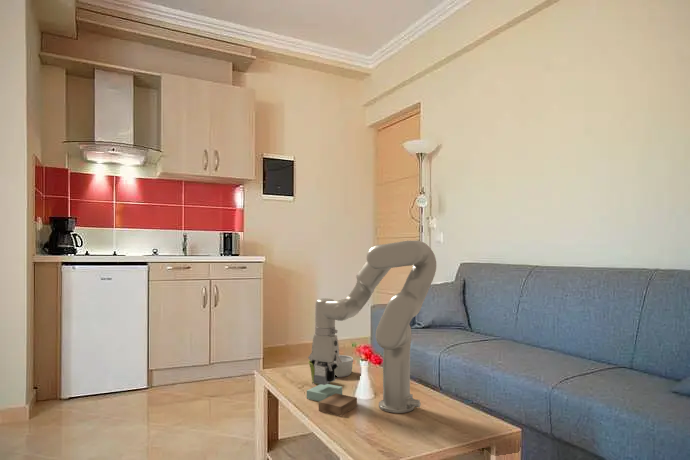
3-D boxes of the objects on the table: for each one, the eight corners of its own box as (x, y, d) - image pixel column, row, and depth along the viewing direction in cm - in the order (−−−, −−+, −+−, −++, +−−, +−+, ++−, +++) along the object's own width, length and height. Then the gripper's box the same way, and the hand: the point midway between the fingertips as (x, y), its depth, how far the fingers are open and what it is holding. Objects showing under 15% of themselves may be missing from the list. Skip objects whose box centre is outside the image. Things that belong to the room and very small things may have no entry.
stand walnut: (356, 406, 165) (356, 397, 165) (340, 415, 155) (340, 406, 155) (335, 401, 169) (335, 393, 169) (318, 410, 160) (318, 402, 160)
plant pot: (330, 385, 188) (330, 364, 189) (307, 385, 189) (307, 364, 189) (331, 379, 198) (331, 358, 198) (309, 379, 198) (309, 358, 198)
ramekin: (319, 376, 202) (319, 360, 202) (329, 368, 214) (329, 353, 214) (348, 379, 198) (348, 363, 198) (356, 371, 210) (357, 356, 210)
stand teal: (342, 394, 177) (342, 386, 177) (326, 403, 168) (326, 394, 168) (323, 390, 182) (323, 383, 182) (306, 398, 173) (306, 390, 173)
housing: (334, 380, 177) (335, 361, 177) (324, 385, 171) (325, 365, 171) (324, 378, 179) (324, 359, 180) (313, 382, 173) (314, 363, 174)
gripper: (349, 332, 174) (348, 380, 174) (312, 327, 183) (312, 373, 183) (338, 335, 168) (338, 385, 168) (301, 330, 177) (300, 378, 176)
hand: (324, 379), depth 175 cm, fingers closed on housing, 5 cm apart
